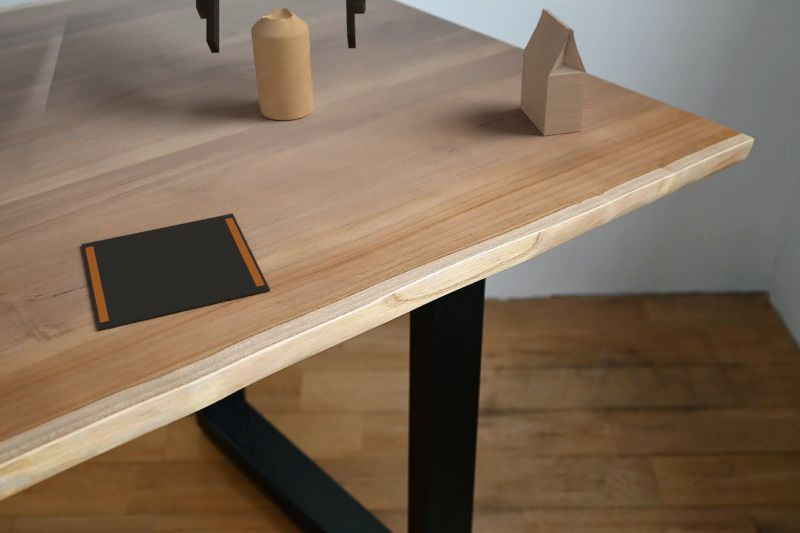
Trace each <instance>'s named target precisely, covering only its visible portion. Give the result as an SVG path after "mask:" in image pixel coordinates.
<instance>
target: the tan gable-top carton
mask: <svg viewBox="0 0 800 533" xmlns="http://www.w3.org/2000/svg"><path fill="white" fill-rule="evenodd" d="M545 8H546V7H545ZM545 8H542V10H541V13H540V16H539V19H538V21H537V24H536V26H535V28H534V30H533V32H532V33H531V36H530V38H529V40H528V41H527V43H526V46H525V47H524V50H523V52H522V70H521V73H522V74H521V88H520V108H519V109H520V110H521V111H522V112H523V114H525V116H527V118H528V119H529V120H530V121H531V123H532V124H533V125H534V126H535V127H536V129H538V131H539V132H540V134H542V135H543V136H553V135H561V134H562V135H563V134H569V133H577V132H581V131H582V120H583V108H584V98H585V88H586V79H587V78H586V77H587V71H586V67H585V65H584V64H583V59H582V58H581V55H580V53H579V49H578V47H577V42H576V39H575V31H574V29H573V28H572V27H570V26H569V25H568V24H566V23H565V22H564V21H563V20H561V18H559V17H558V16H557V15H556V14H554V12H552V11H550V10H549V9H548V8H546V9H545Z"/></svg>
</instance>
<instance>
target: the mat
mask: <svg viewBox="0 0 800 533" xmlns="http://www.w3.org/2000/svg"><path fill="white" fill-rule="evenodd" d="M81 247H82V253H83V258H84V263H85V268H86V273H87V278H88V283H89V284H88V285H89V289H90V293H91V294H90V295H91V300H92V305H93V310H94V314H95V320H96V325H97V329H98V330H97V331H98V332H100V331H103V330H108V329H112V328H116V327H122V326H125V325H129V324H135V323H138V321H139V322H143V321H147V320H151V318H152V319H156V318H160V317H164V316H169V315H172V314H176V313H181V312H186V311H190V310H194V309H199V308H202V307H203V308H204V307H207V306H211V305H215V304H220V303H225V302H229V301H232V300H238V299H242V298H247V297H250V296H255V295H259V294H262V293H263V294H264V293H267V292H270V291H271V289H270V287H269V283H268V282H267V280H266V277H264V273H263V272H262V270H261V267H260V266H259V263H258V262H257V261H256V258H255V256H254V254H253V252H252V250H251V248H250V245H249V244H248V242H247V240H246V238H245V236H244V233H243V231H242V230H241V228H240V224H239V223H238V222H237V219H236V217H235V216H234V213H228V214H223V215H218V216H212V217H209V218H203V219H198V220H193V221H189V222H184V223H183V222H182V223H179V224H173V225H169V226H164V227H159V228H154V229H148V230H144V231H139V232H135V233H130V234H125V235H119V236H115V237H110V238H105V239H100V240H95V241H90V242H85V243H81ZM159 316H160V317H159ZM146 319H147V320H146ZM142 320H143V321H142Z"/></svg>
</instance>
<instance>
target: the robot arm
mask: <svg viewBox="0 0 800 533" xmlns="http://www.w3.org/2000/svg"><path fill="white" fill-rule="evenodd" d="M195 9H196V11H197V14H198V16H199V18H200V20H205V42H206V44H207V46H208V49H209V51H210V53H211V54H219V53H220V0H195ZM345 11H346V12H345V13H346V14H345V15H346V38H347V39H346V41H347V47H348V48H347V49H357V41H356V40H357V39H356V38H357V36H356V15H364V14H365V13H366V11H367V0H345Z"/></svg>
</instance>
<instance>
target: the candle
mask: <svg viewBox="0 0 800 533" xmlns="http://www.w3.org/2000/svg"><path fill="white" fill-rule="evenodd" d="M250 33H251V42H252V50H253V51H252V52H253V58H254V68H255V69H254V70H255V78H256V86H257V94H258V104H259V110H260V113H261V115H262V116H263V117H264V118H267V119H271V120H276V121H291V120H292V121H293V120H298V119H302V118H304V117H307V116H309V115H310V114H311V113H313V111H315V110H314V109H315V97H314V83H313V72H312V71H313V70H312V58H311V56H312V55H311V45H310V31H309V25H308V23H306V22H305V20H303V19H302V18H300V16H297V15H296V14H295V13H293V12H292V11H291V10H290V9H288V8H286V7H283V8H278V9H275V10H273V11H272V12H271V13H269V14H267V15H263V16H262V17H260V18H259V20H257V21H256V22H255V23H254V24H253V26H252V27H251V29H250Z"/></svg>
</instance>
